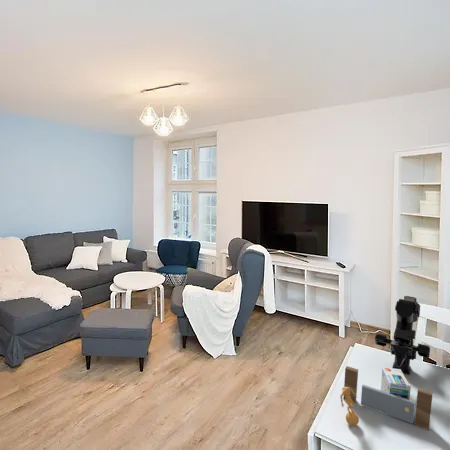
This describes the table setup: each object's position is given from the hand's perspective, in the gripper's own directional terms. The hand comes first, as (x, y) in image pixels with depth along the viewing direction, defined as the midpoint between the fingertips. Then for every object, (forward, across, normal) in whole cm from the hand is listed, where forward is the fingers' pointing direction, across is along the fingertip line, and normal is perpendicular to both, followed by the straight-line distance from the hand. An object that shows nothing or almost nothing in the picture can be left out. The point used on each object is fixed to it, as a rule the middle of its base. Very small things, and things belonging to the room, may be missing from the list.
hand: (398, 366), depth 123 cm
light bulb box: (+14, 0, 0) cm, 14 cm away
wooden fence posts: (+18, -2, -5) cm, 19 cm away
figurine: (+27, -11, -13) cm, 32 cm away
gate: (+19, -2, -6) cm, 20 cm away
